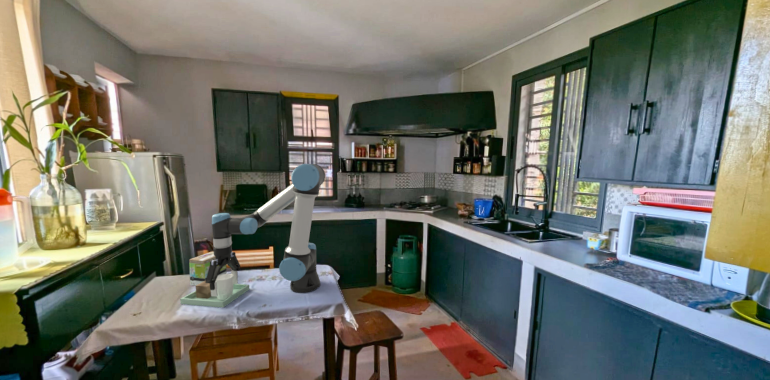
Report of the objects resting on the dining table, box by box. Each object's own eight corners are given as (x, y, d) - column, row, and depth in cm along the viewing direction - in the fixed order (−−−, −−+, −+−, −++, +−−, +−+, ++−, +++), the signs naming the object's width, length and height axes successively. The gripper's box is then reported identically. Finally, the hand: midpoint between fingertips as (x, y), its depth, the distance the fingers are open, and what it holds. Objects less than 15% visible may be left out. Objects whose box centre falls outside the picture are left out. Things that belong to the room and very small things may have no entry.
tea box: (206, 288, 146) (204, 260, 144) (189, 286, 148) (187, 259, 146) (227, 276, 160) (226, 251, 159) (212, 275, 162) (211, 250, 161)
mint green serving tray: (249, 290, 143) (249, 284, 143) (223, 308, 125) (222, 302, 124) (211, 287, 146) (211, 282, 146) (180, 305, 128) (180, 298, 128)
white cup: (229, 291, 140) (228, 272, 139) (237, 296, 135) (236, 276, 134) (212, 298, 133) (211, 277, 133) (220, 302, 129) (219, 281, 128)
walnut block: (217, 293, 139) (216, 281, 138) (207, 298, 133) (206, 286, 132) (206, 292, 140) (205, 280, 139) (196, 297, 134) (195, 285, 133)
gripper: (233, 238, 145) (235, 278, 147) (193, 254, 121) (196, 301, 123) (246, 239, 144) (248, 279, 146) (209, 254, 120) (212, 302, 121)
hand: (225, 289), depth 134 cm, fingers open, 13 cm apart
